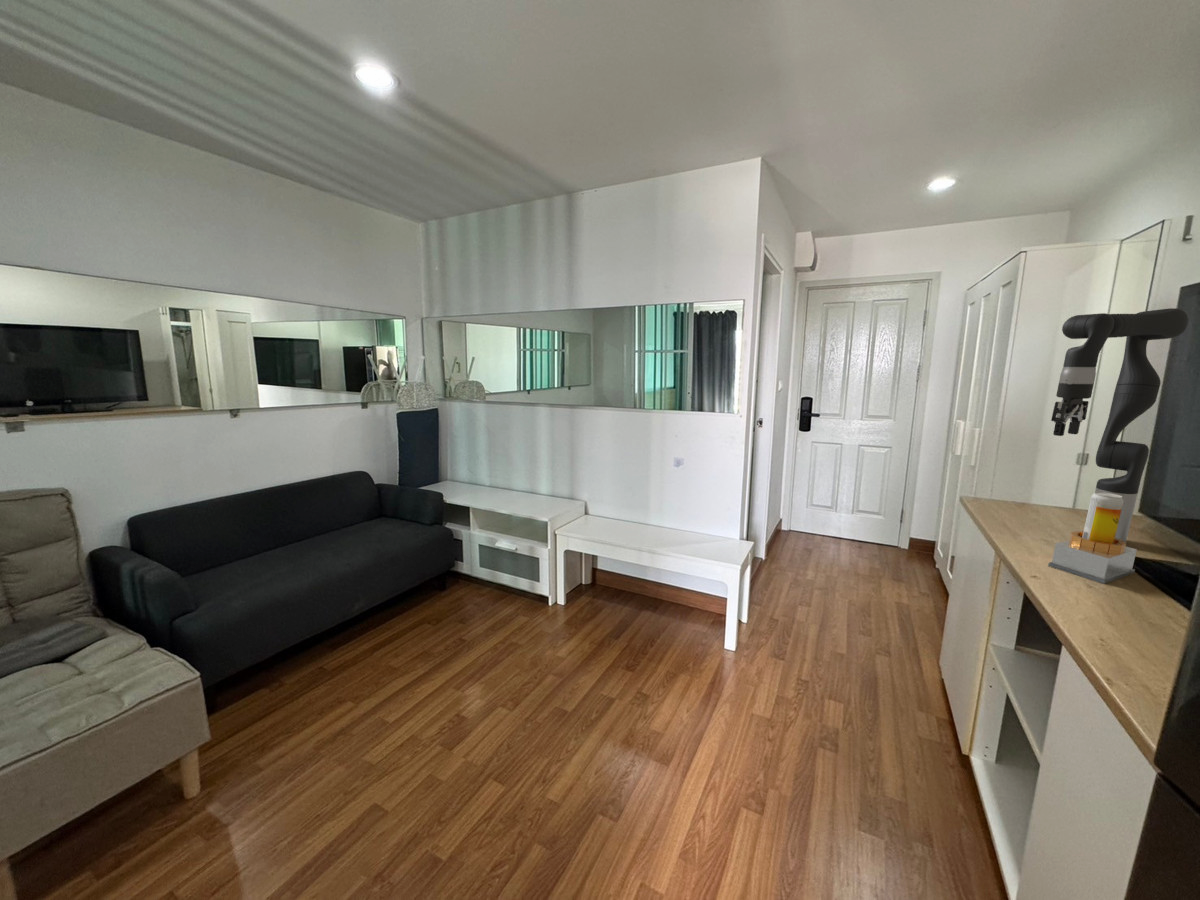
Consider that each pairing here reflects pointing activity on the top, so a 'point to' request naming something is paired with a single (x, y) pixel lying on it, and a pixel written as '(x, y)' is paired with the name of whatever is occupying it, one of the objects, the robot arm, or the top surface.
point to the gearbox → (1094, 558)
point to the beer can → (1103, 517)
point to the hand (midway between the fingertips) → (1065, 434)
